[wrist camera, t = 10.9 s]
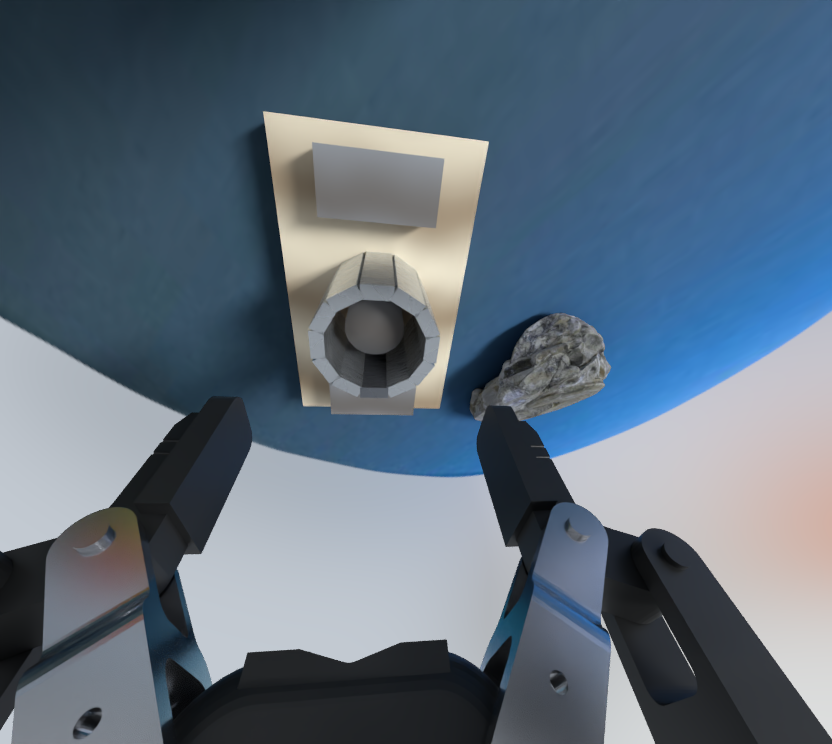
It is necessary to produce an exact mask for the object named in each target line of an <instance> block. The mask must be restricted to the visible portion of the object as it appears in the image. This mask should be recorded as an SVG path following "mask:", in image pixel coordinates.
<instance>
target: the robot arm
mask: <svg viewBox="0 0 832 744" xmlns="http://www.w3.org/2000/svg"><path fill="white" fill-rule="evenodd" d="M251 443H252V431H251V427H250V424H249V420H248V417H247V413H246V410H245V406H244V403H243V400H242V399H241V398H240V397H221V396H213V397H211V398H210V399H209V400H208V401H207V403H206V404H205V405H204V407H203V408H202V409H201V411H200V412H199V413H191V414H189V415H188V416H186V417H185V418H184V419H182V420H181V421H179V422H178V423H176V424H175V425H174V427H173V428H172V429H171V430H170V431H169V433H168V434H167V435H166V436H165V438H164V439H163V442H161V443H160V444H159V445H158V447H157V448H156V449H155V450H154V454H153V455H151V456H150V457H149V458H148V459H147V461H146V462H145V463H144V464H143V466H142V467H141V468H140V470H139V471H138V472H137V473H136V475H135V476H134V477H133V478H132V480H131V481H130V482H129V484H128V485H127V486H126V487H125V489H124V490H123V491H122V492H121V494H120V495H119V496H118V497H117V499H116V500H115V501H114V503H113V504H112V505H111V506H110V507H109V508H107V509H103V510H99V511H97V512H94V513H92V514H90V515H88V516H86V517H84V518H82V519H80V520H79V521H77V522H75V523H74V524H73V525H71V526H70V527H69V528H67V529H66V530H65V531H64V532H63V533H62V534H61V535H60V536H59V537H58V538H55V539H52V540H48V541H44V542H40V543H37V544H33V545H30V546H26V547H22V548H19V549H15V550H11V551H7V552H4V553H2V552H1V551H0V730H1V728H2V727H3V725H4V723H5V722H6V720H7V719H8V717H9V715H10V714H11V712H12V711H13V709H14V720H13V731H12V743H11V744H604V733H605V720H606V707H607V694H608V679H609V667H610V654H611V642H610V636H611V638H612V641H613V643H614V645H615V648H616V650H617V653H618V655H619V657H620V660H621V662H622V664H623V667H624V669H625V672H626V674H627V677H628V679H629V681H630V684H631V686H632V689H633V691H634V693H635V696H636V698H637V701H638V703H639V705H640V708H641V710H642V712H643V715H644V717H645V720H646V722H647V725H648V727H649V729H650V731H651V734H652V736H653V739H654V741H655V744H832V739H831V737H830V736H829V735H828V734H827V732H826V730H825V729H824V728H823V726H822V725H821V724H820V722H819V721H818V719H817V718H816V717H815V715H814V714H813V713H812V711H811V710H810V708H809V707H808V706H807V704H806V703H805V701H804V700H803V699H802V697H801V696H800V695H799V693H798V692H797V690H796V689H795V688H794V687H793V685H792V683H791V682H790V681H789V679H788V678H787V677H786V675H785V674H784V672H783V671H782V670H781V668H780V667H779V666H778V664H777V663H776V661H775V660H774V659H773V657H772V656H771V655H770V653H769V652H768V650H767V649H766V648H765V646H764V645H763V643H762V642H761V641H760V639H759V638H758V637H757V635H756V634H755V632H754V631H753V630H752V628H751V627H750V625H749V624H748V623H747V621H746V620H745V618H744V617H743V616H742V615H741V613H740V612H739V610H738V609H737V607H736V606H735V605H734V603H733V602H732V601H731V599H730V598H729V597H728V595H727V594H726V592H725V591H724V590H723V588H722V587H721V585H720V584H719V583H718V581H717V580H716V578H715V577H714V576H713V574H712V573H711V572H710V570H709V569H708V567H707V566H706V565H705V563H704V562H703V560H702V559H701V558H700V556H699V555H698V554H697V553H696V552H695V551H694V549H693V548H692V547H690V546H689V545H688V544H687V543H686V542H684V541H683V540H682V539H680V538H679V537H677V536H676V535H674V534H672V533H670V532H668V531H665V530H662V529H656V528H652V529H648V530H646V531H645V532H644V533H643V534H642V535H641V536H640V537H636V536H633V535H630V534H626V533H623V532H620V531H617V530H613V529H610V528H607V527H604V526H603V525H602V524H601V522H600V521H599V520H598V519H597V518H596V517H595V516H594V515H593V514H592V513H591V512H590V511H588V510H587V509H585V508H583V507H582V506H579V505H577V504H575V502H574V501H573V499H572V497H571V495H570V493H569V491H568V489H567V488H566V486H565V484H564V482H563V480H562V478H561V476H560V474H559V473H558V471H557V469H556V467H555V465H554V463H553V461H552V460H551V459H550V456H549V454H548V452H547V450H546V448H544V445H543V443H542V441H541V439H540V437H539V435H538V433H537V432H536V431H535V430H534V429H533V428H532V427H531V426H530V425H529V424H528V423H527V422H526V421H519V420H518V418H517V416H516V414H515V412H514V410H513V408H512V407H511V406H496V405H489V406H487V408H486V410H485V413H484V416H483V420H482V423H481V426H480V429H479V432H478V436H477V452H478V456H479V459H480V463H481V466H482V469H483V473H484V476H485V479H486V482H487V486H488V489H489V493H490V496H491V499H492V502H493V506H494V509H495V512H496V516H497V519H498V523H499V525H500V529H501V532H502V536H503V539H504V542H505V546H506V547H511V546H519V549H520V552H521V555H522V557H521V559H520V561H519V564H518V567H517V570H516V573H515V576H514V578H513V581H512V584H511V587H510V591H509V593H508V596H507V599H506V602H505V605H504V608H503V611H502V614H501V617H500V620H499V622H498V625H497V627H496V629H495V631H494V633H493V636H492V638H491V640H490V642H489V645H488V647H487V650H486V653H485V655H484V658H483V661H482V664H481V667H480V669H479V668H478V667H476V666H475V665H473V664H472V663H471V662H469V661H467V660H466V659H464V658H462V657H460V656H458V655H456V654H453V653H449V652H448V647H447V640H435V641H434V640H433V641H418V642H404V643H399V644H396V645H394V646H391V647H389V648H387V649H384V650H382V651H380V652H378V653H375V654H372V655H370V656H367V657H365V658H363V659H360V660H358V661H355V662H352V663H345V662H341V661H338V660H334V659H331V658H328V657H324V656H321V655H317V654H314V653H311V652H307V651H303V650H300V649H296V650H281V651H266V652H250V653H247V657H246V660H245V664H244V667H243V668H241V669H238V670H236V671H234V672H232V673H230V674H229V675H227V676H225V677H223V678H222V679H220V680H219V681H217V682H216V683H214V684H213V685H212V682H211V678H210V674H209V671H208V668H207V665H206V662H205V660H204V657H203V655H202V653H201V651H200V649H199V647H198V645H197V642H196V639H195V636H194V632H193V628H192V624H191V620H190V616H189V612H188V608H187V604H186V600H185V596H184V592H183V589H182V584H181V580H180V576H179V572H178V570H177V567H178V565H179V563H180V561H181V559H182V557H183V555H184V554H201V553H202V551H203V549H204V547H205V545H206V542H207V540H208V538H209V536H210V534H211V532H212V529H213V527H214V525H215V523H216V521H217V519H218V517H219V514H220V512H221V510H222V508H223V506H224V504H225V502H226V500H227V497H228V495H229V493H230V491H231V489H232V487H233V485H234V482H235V480H236V478H237V476H238V474H239V471H240V470H241V467H242V465H243V463H244V461H245V459H246V457H247V454H248V452H249V450H250V447H251ZM601 614H602V617H603V619H604V621H605V624H606V626H607V629H608V631H609V633H610V636H609V633H608V631H607V630H606V629H604V628H603V627H602V625H601ZM662 615H663V616H664V618H665V620H666V622H667V624H668V625H669V627H670V629H671V631H672V633H673V634H674V636H675V638H676V640H677V641H678V644H679V645H680V647H681V649H682V651H683V652H684V654H685V656H686V658H687V660H688V662H689V663H690V665H691V667H692V669H693V671H694V674H695V676H694V674H693V672H692V670H691V668H690V666H689V665H688V663H687V661H686V659H685V657H684V656H683V654H682V652H681V650H680V648H679V647H678V645H677V643H676V641H675V639H674V637H673V635H672V634H671V632H670V630H669V628H668V626H667V624H666V623H665V621H664V619H663V617H662Z"/></svg>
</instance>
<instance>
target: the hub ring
mask: <svg viewBox="0 0 832 744" xmlns="http://www.w3.org/2000/svg"><path fill="white" fill-rule="evenodd" d="M360 300H377V301H392V302H393V303H395V304H396V305H398V306H400V307H401V308H403V309H404V310H406V311H407V312H409V313H411V314H412V315H413V316H412V317H411V319H410V320H409V321H408V323H407V324H406V325H405V327H404V333H403V337H402V339H401V341H400V343H399V344H398V345H397V346H396V347H395V348H394V349H392V350H391V351H389V352H386V353H383V354H368V353H365V352H362V351H360V350H358V349H357V348H355V347H354V346H353V345H352V344H351V343H350V341H349V340H348V338H347V336H346V332H345V321H346V319H345V317H344V316H343V314H342V313H341V311H340V310H342V309H344V308H346V307H348V306H350V305H352V304H354V303H356V302H358V301H360ZM308 337H309V346H310V356H311V359H313V360H312V362H313V363H314V365H315V366H316V367H317V368H318V370H319V371H320V372H321V373H322V375H323V376H324V377H325V379H326V380H327V381H328V382H329V383H331V382H332V386H335V387H337V388H339V389H341V390H343V391H345V392H347V393H350V394H352V395H354V396H356V397H357V396H358V395H359V394H360V398H388V394H389V396H390V397H394V396H396V395H399V394H401V393H403V392H406V391H408V390H411V389H413V388H416V386H415V384H416V385H419V384H420V383H421V382H422V381H423V379H424V378H425V377H426V376H427V375H428V374H429V372H430V371H431V370H432V369H433V368H434V367H435V364H434V363H436V362H437V355H438V349H439V343H440V333H439V330H438V327H437V324H436V321H435V318H434V315H433V312H432V309H431V306H430V303H429V300H428V297H427V293H426V291H425V289H424V286H423V284H422V282H421V280H420V278H419V275H418V273H417V271H415V269H414V268H413V267H411V266H410V265H409V264H407V263H406V262H404V261H403V260H401V259H400V258H399V257H397V256H396V255H394V256H393V258H392V254H391V253H379V252H367V251H366V255H365V254H364V252H363V253H361V254H359V255H357V256H355V257H353V258H351V259H349V260H347V261H345V262H343V263H341V266H340V265H339V267H338V269H337V271H336V272H335V274H334V276H333V278H332V279H331V281H330V283H329V285H328V287H327V289H326V291H325V293H324V295H323V298H322V300H321V302H320V304H319V306H318V308H317V311H316V313H315V315H314V317H313V319H312V321H311V323H310V326H309V329H308Z"/></svg>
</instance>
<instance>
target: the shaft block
mask: <svg viewBox="0 0 832 744" xmlns="http://www.w3.org/2000/svg"><path fill="white" fill-rule="evenodd" d="M263 114H264V121H265V128H266V136H267V143H268V150H269V158H270V165H271V173H272V180H273V187H274V195H275V202H276V209H277V217H278V224H279V231H280V239H281V246H282V253H283V261H284V268H285V275H286V283H287V290H288V297H289V305H290V312H291V319H292V327H293V334H294V341H295V349H296V356H297V363H298V371H299V378H300V385H301V393H302V400H303V406H331V414H367V415H413V410H414V408H437V409H439V408H440V403H441V398H442V392H443V387H444V381H445V376H446V370H447V365H448V360H449V354H450V349H451V343H452V338H453V333H454V327H455V322H456V316H457V311H458V305H459V300H460V295H461V289H462V284H463V278H464V273H465V268H466V262H467V257H468V251H469V246H470V241H471V235H472V230H473V224H474V219H475V213H476V208H477V203H478V197H479V192H480V186H481V181H482V176H483V170H484V165H485V159H486V154H487V148H488V143H489V142H488V141H480V140H473V139H465V138H458V137H451V136H443V135H436V134H428V133H421V132H413V131H406V130H398V129H391V128H383V127H376V126H368V125H361V124H354V123H346V122H339V121H331V120H324V119H316V118H309V117H301V116H294V115H286V114H279V113H271V112H264V111H263ZM366 251H367V252H379V253H391V254H392V258H393V256H394V255H396V256H397V257H399V258H400V259H401V260H403V261H404V262H406V263H407V264H409V265H410V266H411V267H413V268H414V269H415V271H417V273H418V275H419V278H420V280H421V282H422V284H423V286H424V289H425V291H426V293H427V297H428V300H429V303H430V306H431V309H432V312H433V315H434V318H435V321H436V324H437V327H438V330H439V333H440V343H439V349H438V355H437V362H436V363H434V364H435V367H434V368H433V369H432V370H431V371H430V372H429V374H428V375H427V376H426V377H425V378H424V379H423V381H422V382H421V383H420V384H419V385H416V384H415V386H416V388H413V389H411V390H408V391H406V392H403V393H401V394H399V395H396V396H394V397H390V396H389V394H388V398H360V394H359V395H358V396H357V397H356V396H354V395H352V394H350V393H347V392H345V391H343V390H341V389H339V388H337V387H335V386H332V382H331V383H329V382H328V381H327V380H326V379H325V377H324V376H323V375H322V373H321V372H320V371H319V370H318V368H317V367H316V366H315V365H314V363H313V362H312V360H313V359H311V356H310V346H309V337H308V329H309V326H310V323H311V321H312V319H313V317H314V315H315V313H316V311H317V308H318V306H319V304H320V302H321V300H322V298H323V295H324V293H325V291H326V289H327V287H328V285H329V283H330V281H331V279H332V278H333V276H334V274H335V272H336V271H337V269H338V267H339V265H340V266H341V263H343V262H345V261H347V260H349V259H351V258H353V257H355V256H357V255H359V254H361V253H363V252H364V254H365V255H366ZM340 311H341V313H342V314H343V316H344V317H345V319H346V321H345V332H346V336H347V338H348V340H349V341H350V343H351V344H352V345H353V346H354V347H355V348H357V349H358V350H360V351H362V352H365V353H368V354H383V353H386V352H389V351H391V350H392V349H394V348H395V347H396V346H397V345H398V344H399V343H400V341H401V339H402V337H403V333H404V327H405V325H406V324H407V323H408V321H409V320H410V319H411V317H412V316H413V315H412V314H411V313H409V312H407V311H406V310H404V309H403V308H401V307H400V306H398V305H396V304H395V303H393V302H392V301H377V300H360V301H358V302H356V303H354V304H352V305H350V306H348V307H346V308H344V309H342V310H340Z"/></svg>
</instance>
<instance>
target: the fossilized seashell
mask: <svg viewBox="0 0 832 744" xmlns="http://www.w3.org/2000/svg"><path fill="white" fill-rule="evenodd" d="M604 350H605V345H604V343H603V338H602V336H601V335H600V334H599V333H597V331H596V329H595V328H594V327H593V326H590V325H588V324H587V323H585V322H584V321H582V320H581V319H579V318H577V317H575V316H570V315H567V314H565V313H559V314H558V313H555V314H551V315H549V316H546V317H544V318H542V319H541V320H539V321H537V322H536V323H534V324H533V325H531V326H530V327H529V328H528V329H526V330H525V332H524V333H523V334H522V336H521V337H520V338H519V340H518V342H517V343H516V345H515V347H514V350H513V353H512V357H511V359H510V360H507V361H505V363H504V364H503V368H502V371H501V373H500V375H499V377H497V378H495V379H493V380H491V381H490V382H489V383H487V384H486V386H485V389H475V390H474V391H473V392H472V397H471V401H470V411H471V413H472V415H473V416H474V419H476V420H479V421H481V422H482V420H483V416H484V413H485V410H486V408H487V406H489V405H496V406H511V407H512V408H513V410H514V412H515V414H516V416H517V418H518V420H519V421H521V420H525V419H529V418H532V417H536V416H539V415H542V414H545V413H548V412H552V411H555V410H558V409H561V408H564V407H566V406H569V405H572V404H574V403H577V402H579V401H581V400H583V399H586V398H588V397H590V396H592V395H594V394H596V393H598V392H599V391H600V390H601V389H602V388H603V387H604V386H605V384H604V383H603V379H605V378H606V376H607V374H608V373H609V371H610V369H611V366H610V365H609V363H608V362H607V361H606V359H605V356H604V354H603V351H604Z"/></svg>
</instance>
